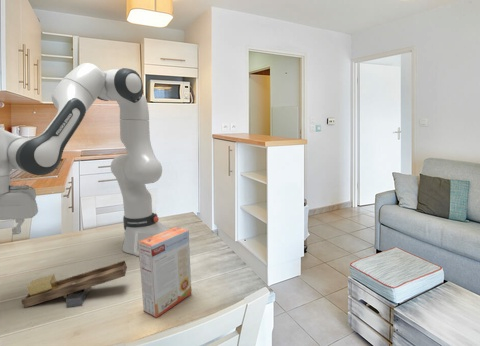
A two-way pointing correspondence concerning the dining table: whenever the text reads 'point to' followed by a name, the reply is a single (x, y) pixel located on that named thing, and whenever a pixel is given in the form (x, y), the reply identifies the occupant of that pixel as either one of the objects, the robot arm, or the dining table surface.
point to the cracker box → (165, 270)
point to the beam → (79, 283)
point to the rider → (42, 285)
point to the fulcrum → (76, 298)
